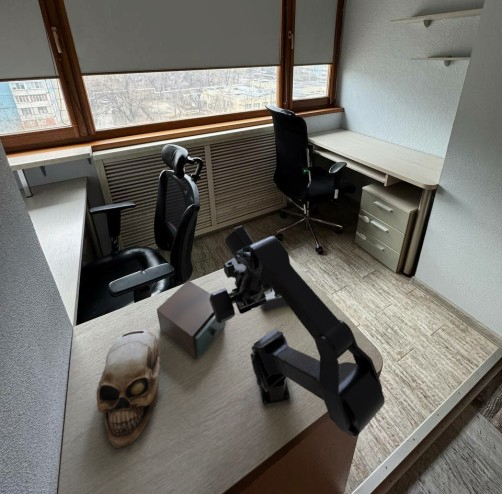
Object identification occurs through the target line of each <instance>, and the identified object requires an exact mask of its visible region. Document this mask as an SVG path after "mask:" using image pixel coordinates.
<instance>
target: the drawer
mask: <svg viewBox="0 0 502 494" xmlns="http://www.w3.org/2000/svg"><path fill="white" fill-rule="evenodd" d="M224 327H226V321H225V322H223V323H218V322H217V320H216V317H215V315H214V314H213V315H212V316H211V317H210V319H209V320H208V321H207V322H206V323H205V324H204V326H203V327H202V328H201V329H200V330H199V331H198V333H197V334H196V335H195V337H194V339H195V347H196V355H197V358H201V357H202V356H203V354H204V353H205V352H206V351H207V350H208V348H209V347H210V345H211V344H212V343H213V342H214V340H215V339H216V338H217V336H218V335H219V334H220V333H221V331H222V330H223V329H224Z"/></svg>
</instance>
